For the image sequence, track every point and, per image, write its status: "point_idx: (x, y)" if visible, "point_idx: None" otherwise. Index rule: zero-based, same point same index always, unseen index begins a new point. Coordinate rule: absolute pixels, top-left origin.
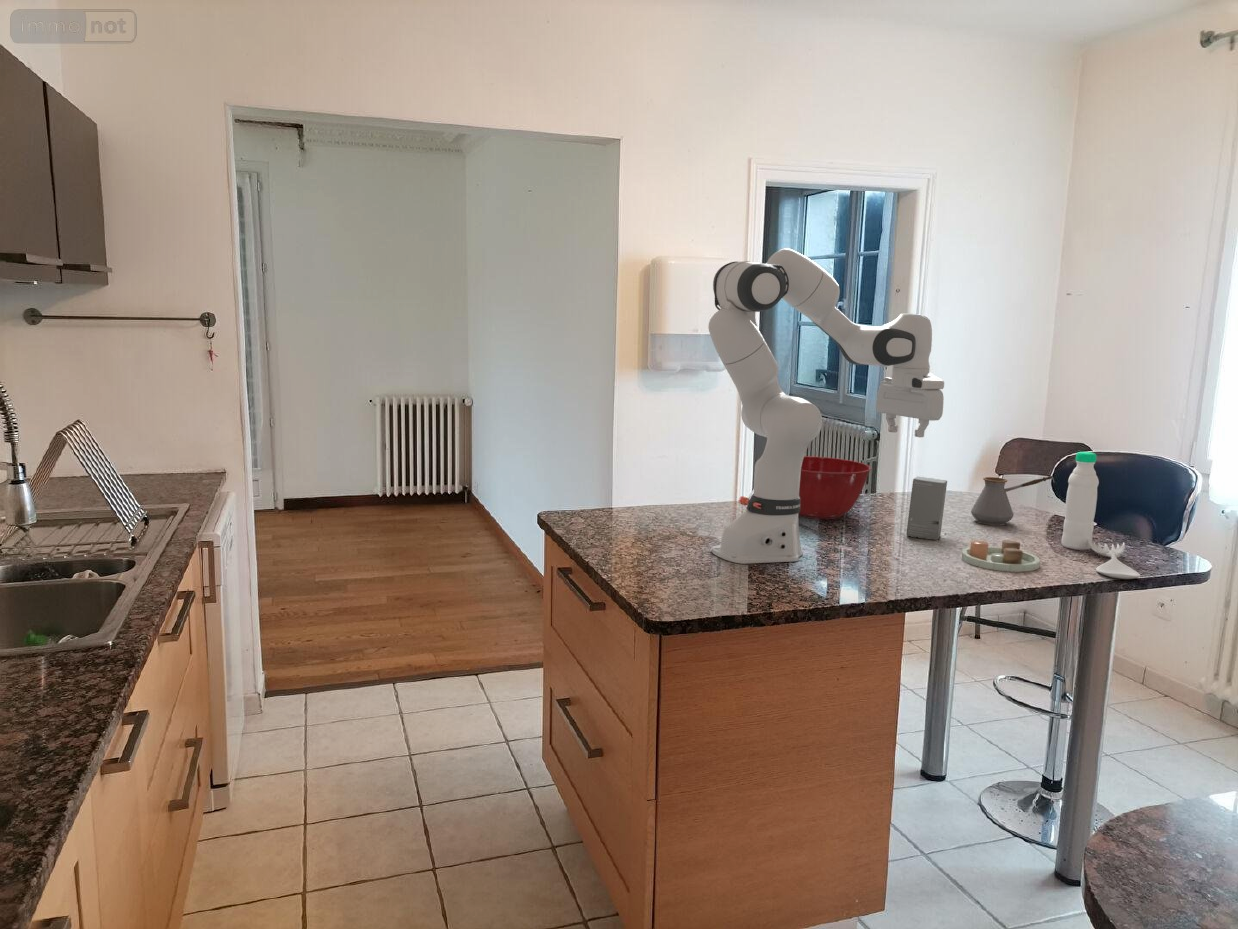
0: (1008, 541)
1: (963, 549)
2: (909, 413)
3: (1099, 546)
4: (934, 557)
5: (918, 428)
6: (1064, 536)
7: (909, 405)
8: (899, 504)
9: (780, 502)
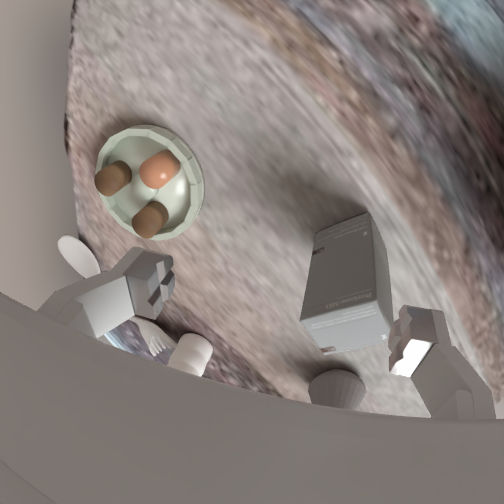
0: (149, 228)
1: (188, 163)
2: (108, 379)
3: (161, 338)
4: (227, 121)
5: (107, 279)
6: (197, 345)
7: (78, 465)
8: (477, 373)
9: None
